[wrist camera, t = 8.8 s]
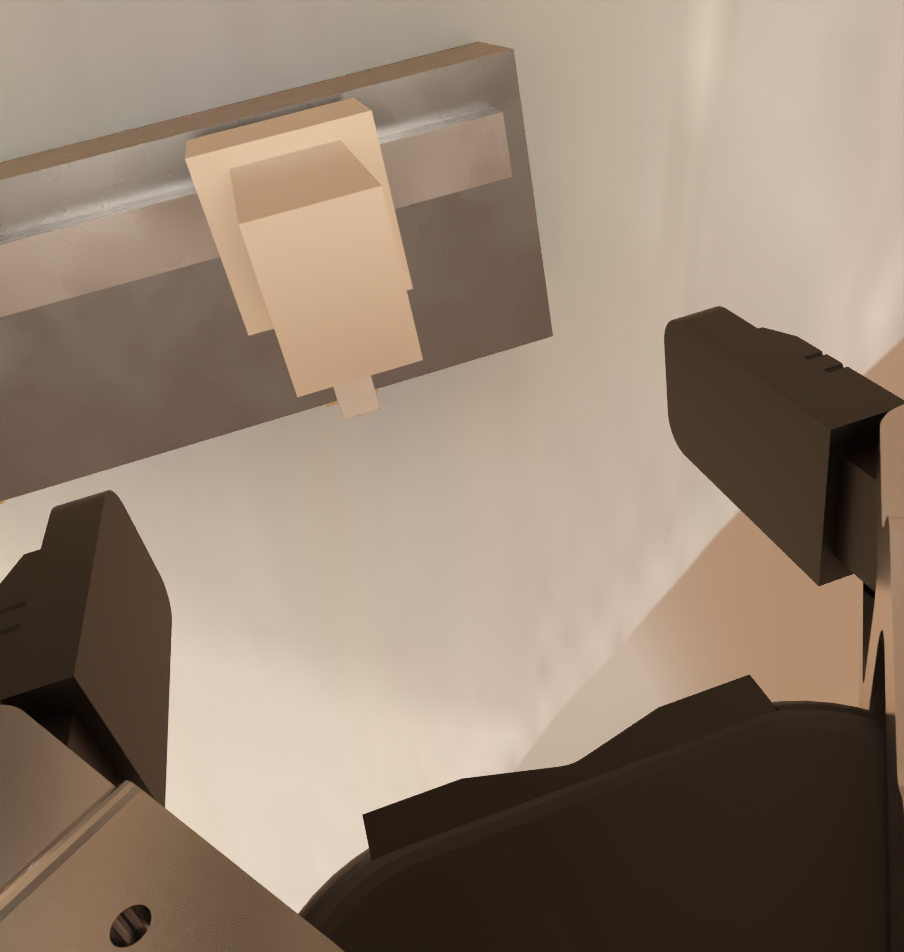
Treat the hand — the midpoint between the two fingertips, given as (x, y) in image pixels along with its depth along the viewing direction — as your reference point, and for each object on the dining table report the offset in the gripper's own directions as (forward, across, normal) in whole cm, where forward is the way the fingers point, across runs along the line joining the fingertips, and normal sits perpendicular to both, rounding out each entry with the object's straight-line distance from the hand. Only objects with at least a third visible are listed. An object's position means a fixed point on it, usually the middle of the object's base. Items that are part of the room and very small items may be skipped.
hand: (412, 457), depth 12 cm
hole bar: (+22, +6, +3) cm, 23 cm away
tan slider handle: (+17, 0, +2) cm, 17 cm away
